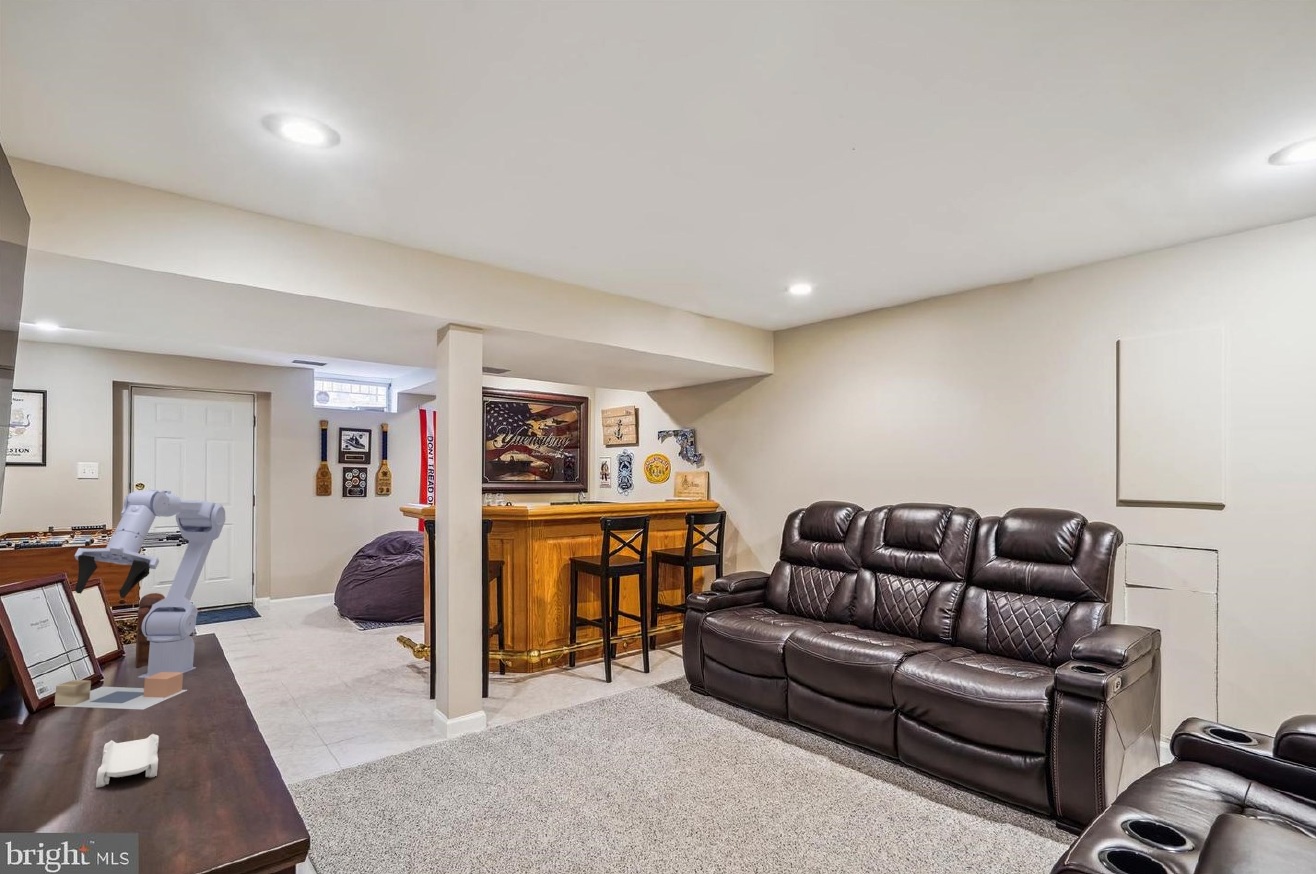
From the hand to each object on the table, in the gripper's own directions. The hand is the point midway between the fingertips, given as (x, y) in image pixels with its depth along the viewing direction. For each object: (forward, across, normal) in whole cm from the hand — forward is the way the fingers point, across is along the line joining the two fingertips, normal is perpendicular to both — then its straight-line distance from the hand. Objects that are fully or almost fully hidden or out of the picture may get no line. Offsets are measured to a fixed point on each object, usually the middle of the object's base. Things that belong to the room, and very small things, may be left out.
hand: (100, 593), depth 139 cm
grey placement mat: (+15, +6, +20) cm, 26 cm away
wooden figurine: (-3, +2, +47) cm, 47 cm away
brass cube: (+16, -2, +20) cm, 26 cm away
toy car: (+37, +20, -13) cm, 44 cm away
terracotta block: (+13, +14, +20) cm, 28 cm away
